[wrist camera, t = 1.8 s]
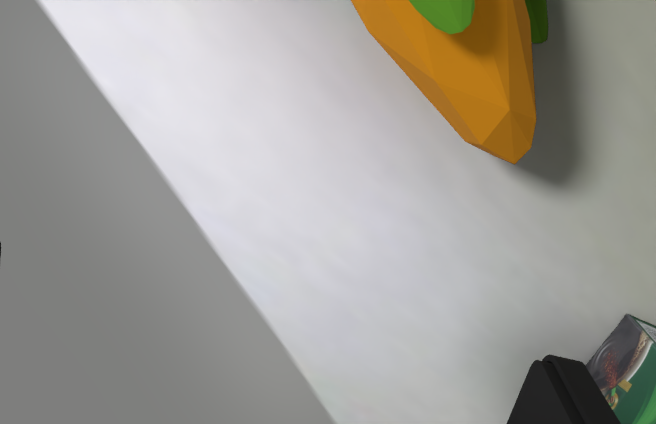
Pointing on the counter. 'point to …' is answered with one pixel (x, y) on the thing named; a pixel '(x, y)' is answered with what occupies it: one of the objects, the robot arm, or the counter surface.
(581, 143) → the counter surface
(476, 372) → the counter surface
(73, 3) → the counter surface
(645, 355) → the coffee box
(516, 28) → the corn
